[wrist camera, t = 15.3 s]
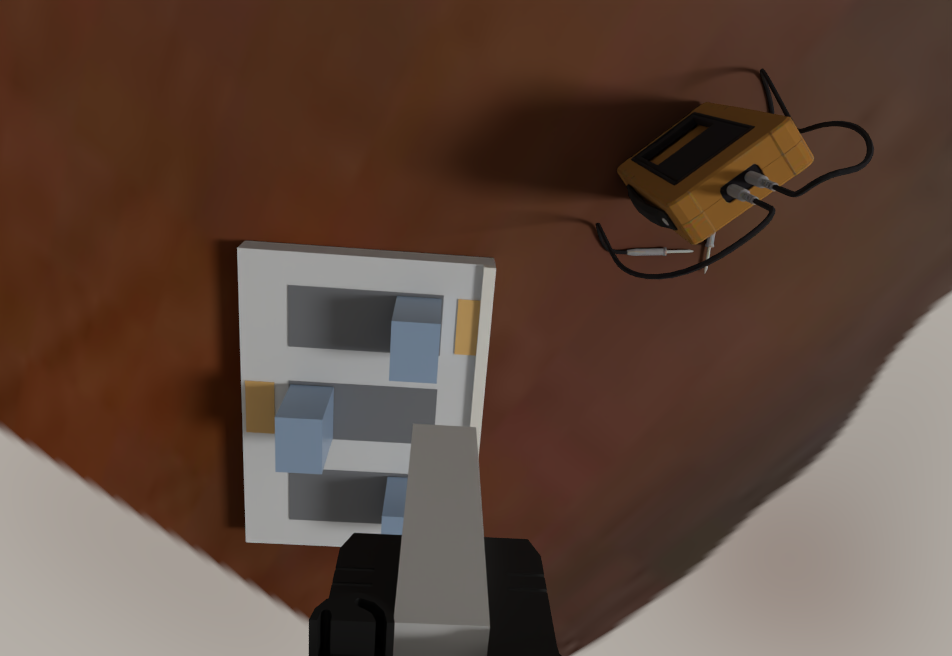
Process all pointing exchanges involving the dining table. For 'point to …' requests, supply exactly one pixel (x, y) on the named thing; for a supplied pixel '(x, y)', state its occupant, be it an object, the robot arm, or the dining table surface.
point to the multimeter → (718, 173)
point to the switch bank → (349, 375)
